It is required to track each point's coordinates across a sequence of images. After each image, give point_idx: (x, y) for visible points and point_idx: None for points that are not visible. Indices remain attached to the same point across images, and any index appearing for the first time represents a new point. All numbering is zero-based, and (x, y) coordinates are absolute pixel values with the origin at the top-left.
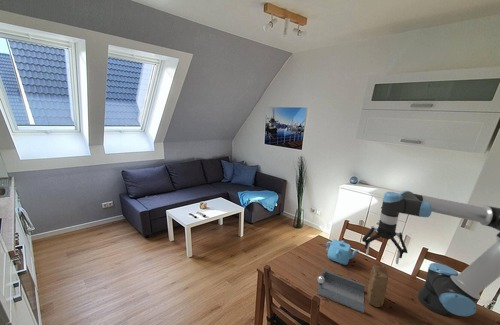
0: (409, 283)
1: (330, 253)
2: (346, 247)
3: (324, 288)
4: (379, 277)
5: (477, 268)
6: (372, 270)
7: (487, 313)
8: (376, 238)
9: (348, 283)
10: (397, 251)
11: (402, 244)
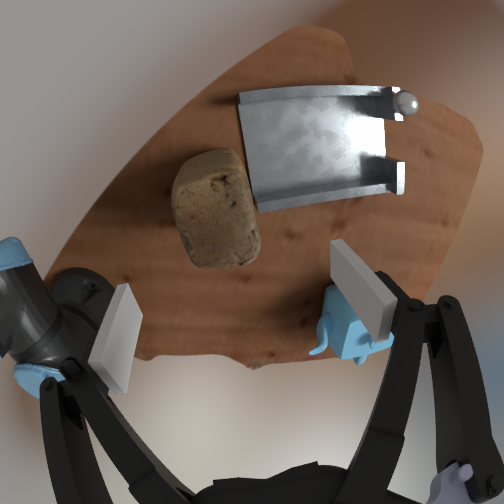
0: (150, 336)
1: None
2: (354, 338)
3: (378, 93)
4: (212, 173)
5: None
6: (256, 221)
7: None
8: (377, 410)
9: (311, 189)
10: (125, 380)
11: (61, 453)
